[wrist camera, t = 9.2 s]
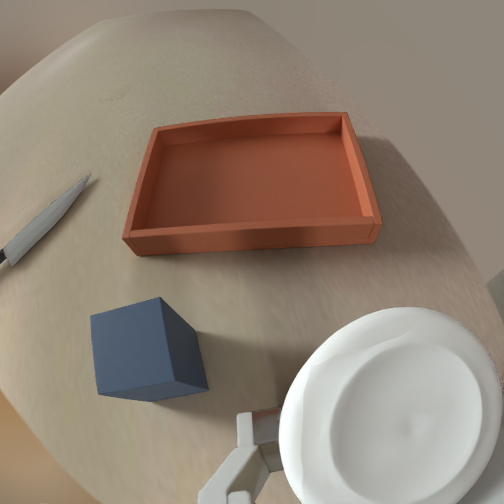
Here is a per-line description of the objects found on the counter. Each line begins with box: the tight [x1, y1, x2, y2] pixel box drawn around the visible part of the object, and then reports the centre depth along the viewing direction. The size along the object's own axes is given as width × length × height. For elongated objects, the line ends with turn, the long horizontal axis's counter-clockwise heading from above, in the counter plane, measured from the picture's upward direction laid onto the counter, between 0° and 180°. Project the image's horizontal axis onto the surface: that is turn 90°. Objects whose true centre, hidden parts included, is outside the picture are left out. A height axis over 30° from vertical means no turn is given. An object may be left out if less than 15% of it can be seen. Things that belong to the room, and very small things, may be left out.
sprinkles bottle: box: [279, 307, 502, 504], centre depth 10 cm, size 5×5×14 cm
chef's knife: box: [0, 174, 91, 266], centre depth 24 cm, size 19×1×3 cm
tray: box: [122, 112, 383, 256], centre depth 23 cm, size 17×12×3 cm
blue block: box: [90, 297, 209, 402], centre depth 15 cm, size 4×4×6 cm
